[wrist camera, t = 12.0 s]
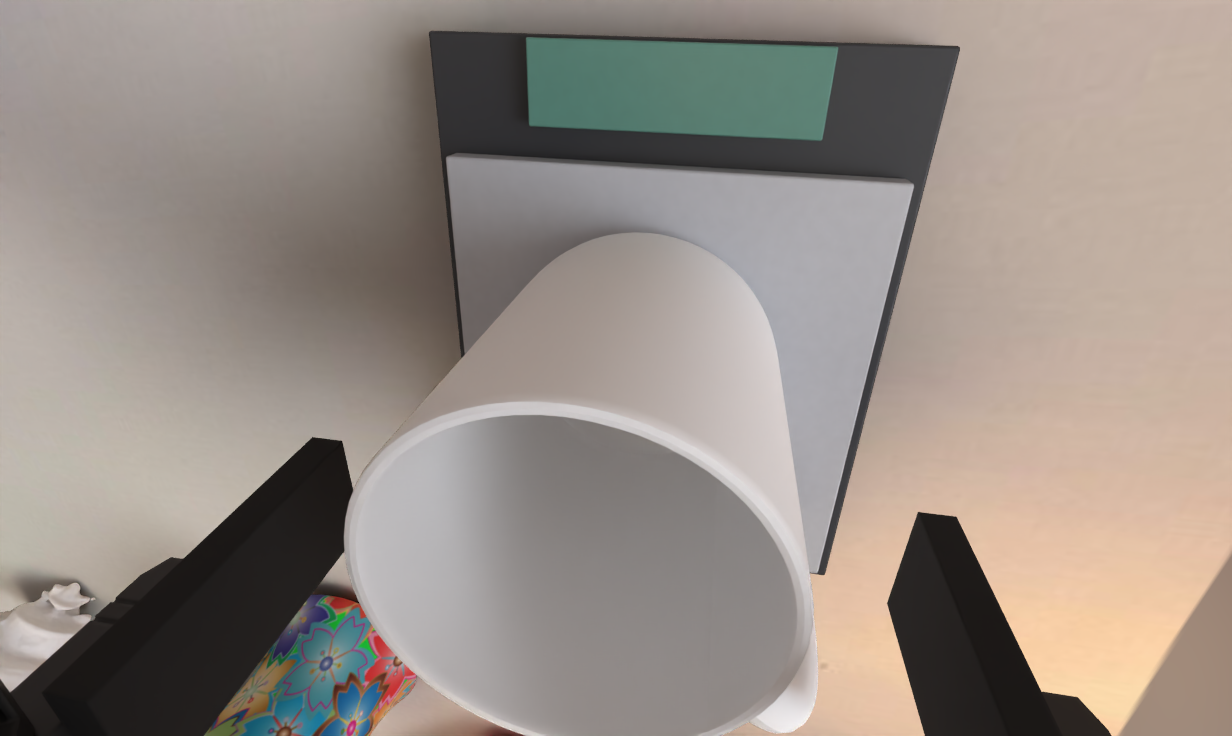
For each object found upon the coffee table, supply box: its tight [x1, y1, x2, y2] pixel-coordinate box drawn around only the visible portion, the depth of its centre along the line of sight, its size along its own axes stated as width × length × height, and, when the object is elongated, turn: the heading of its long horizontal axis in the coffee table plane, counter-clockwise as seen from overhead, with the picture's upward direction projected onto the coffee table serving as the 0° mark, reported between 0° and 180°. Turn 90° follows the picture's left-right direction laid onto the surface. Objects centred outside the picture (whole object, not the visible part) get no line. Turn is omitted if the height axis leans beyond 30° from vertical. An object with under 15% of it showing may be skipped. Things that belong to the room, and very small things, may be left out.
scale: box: [429, 31, 960, 575], centre depth 21 cm, size 18×14×3 cm
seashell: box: [0, 583, 96, 692], centre depth 35 cm, size 8×5×8 cm
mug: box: [204, 595, 417, 736], centre depth 29 cm, size 12×9×11 cm
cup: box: [344, 232, 818, 736], centre depth 15 cm, size 8×12×10 cm
